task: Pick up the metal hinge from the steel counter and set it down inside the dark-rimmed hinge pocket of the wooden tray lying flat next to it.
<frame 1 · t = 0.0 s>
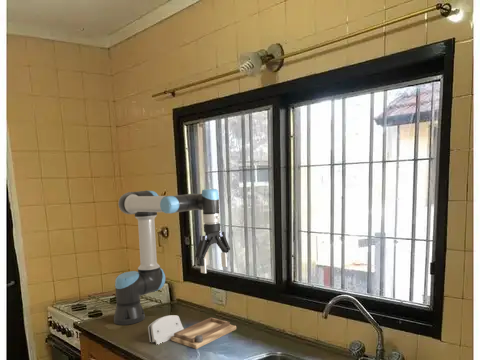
hand: (214, 269, 184), 28 cm above the worktop, fingers open, 13 cm apart
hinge: (166, 337, 181), on the worktop
wooden tray: (204, 334, 181), on the worktop
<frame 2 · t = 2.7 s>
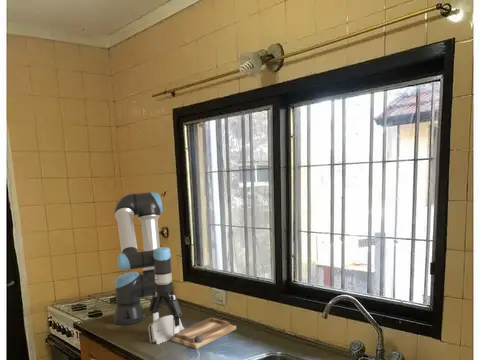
hand: (166, 330, 180), 3 cm above the worktop, fingers open, 13 cm apart
nothing on the worktop moved.
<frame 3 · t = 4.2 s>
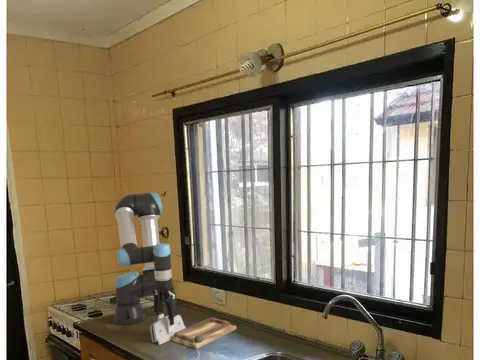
hand: (166, 330, 181), 3 cm above the worktop, fingers open, 6 cm apart
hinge: (168, 337, 181), on the worktop, touching wooden tray, gripper
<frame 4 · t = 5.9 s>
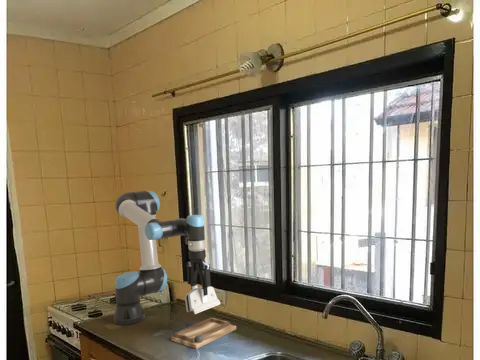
hand: (200, 301, 182), 15 cm above the worktop, fingers closed on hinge, 5 cm apart
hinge: (202, 307, 181), point 12 cm above the worktop, touching gripper
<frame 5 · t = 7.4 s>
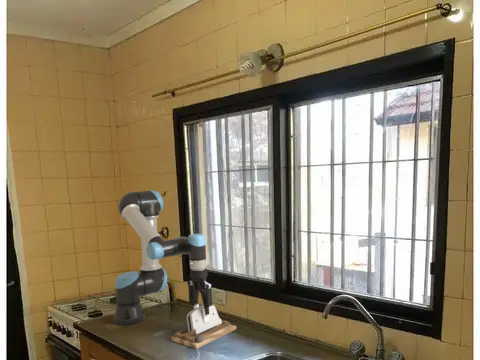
hand: (201, 320, 182), 6 cm above the worktop, fingers closed on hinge, 5 cm apart
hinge: (203, 327, 181), point 3 cm above the worktop, touching gripper
when the fingers open (4 cm above the worktop, at t = 8.5 s): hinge stays where it is, resting on wooden tray.
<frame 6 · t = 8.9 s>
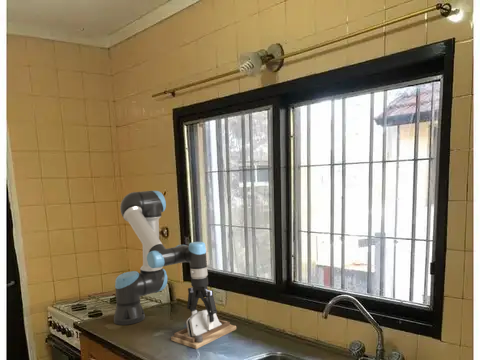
hand: (202, 327, 181), 3 cm above the worktop, fingers open, 9 cm apart
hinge: (204, 332, 181), point 1 cm above the worktop, touching wooden tray
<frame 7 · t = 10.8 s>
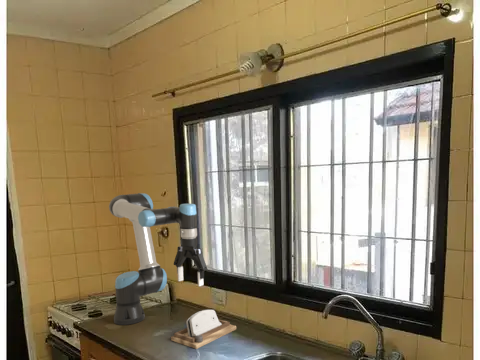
hand: (190, 283, 187), 22 cm above the worktop, fingers open, 13 cm apart
nothing on the worktop moved.
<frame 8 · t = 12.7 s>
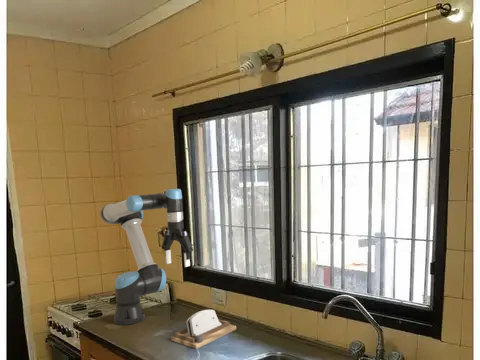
hand: (177, 265, 195), 29 cm above the worktop, fingers open, 13 cm apart
nothing on the worktop moved.
at the end: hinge inside the target area on the wooden tray (1.0 cm from its centre), point 1.3 cm above the wooden tray's base; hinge tilted 1°; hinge touching wooden tray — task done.
